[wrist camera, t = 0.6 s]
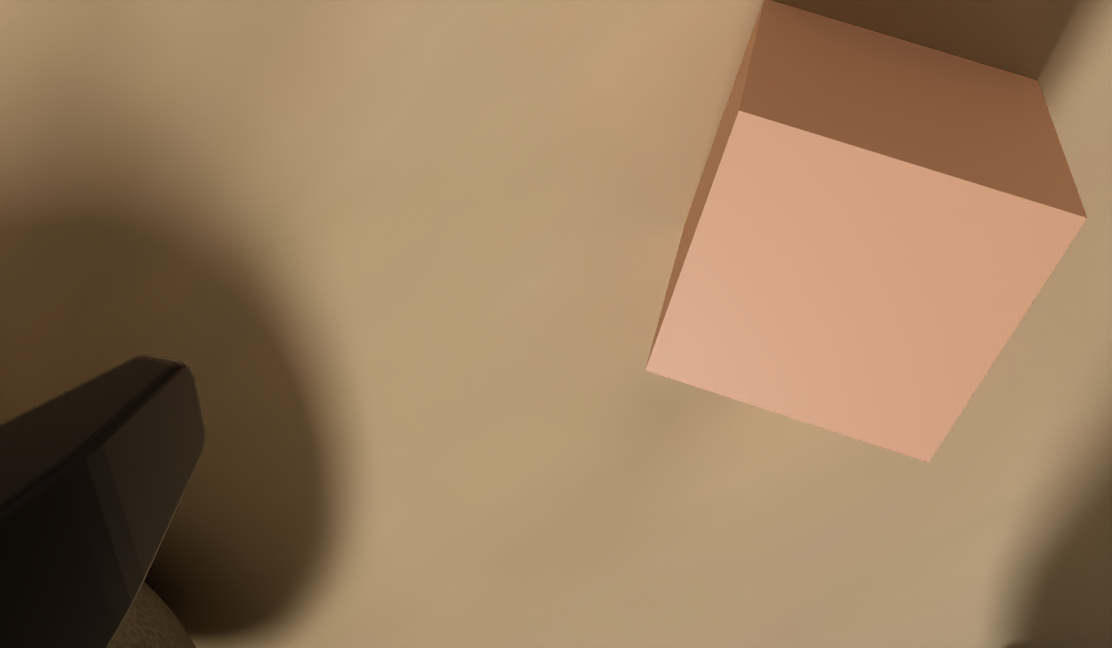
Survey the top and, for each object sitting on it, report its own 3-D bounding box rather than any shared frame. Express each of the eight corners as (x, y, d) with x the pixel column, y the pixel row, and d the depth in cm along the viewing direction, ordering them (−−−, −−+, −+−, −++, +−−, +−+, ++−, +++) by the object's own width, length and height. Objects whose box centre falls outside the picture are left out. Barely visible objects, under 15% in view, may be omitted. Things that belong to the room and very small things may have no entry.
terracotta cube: (915, 297, 21) (929, 462, 17) (684, 224, 21) (645, 370, 17) (1036, 78, 18) (1087, 217, 14) (764, -4, 18) (739, 110, 14)
